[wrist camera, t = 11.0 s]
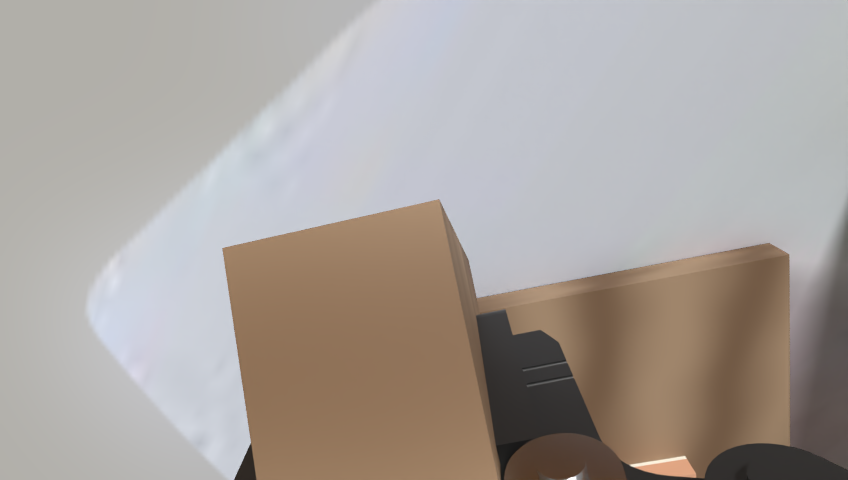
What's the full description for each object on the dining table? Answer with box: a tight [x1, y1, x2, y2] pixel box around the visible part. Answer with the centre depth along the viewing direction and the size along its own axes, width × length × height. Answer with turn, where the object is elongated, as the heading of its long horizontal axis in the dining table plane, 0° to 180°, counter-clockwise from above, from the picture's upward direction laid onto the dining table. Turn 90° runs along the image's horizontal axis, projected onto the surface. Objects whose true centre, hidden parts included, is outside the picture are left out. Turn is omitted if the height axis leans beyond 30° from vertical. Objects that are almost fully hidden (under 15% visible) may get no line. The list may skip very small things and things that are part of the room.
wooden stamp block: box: [222, 200, 501, 480], centre depth 9 cm, size 6×10×7 cm, turn 102°
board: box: [477, 243, 790, 478], centre depth 28 cm, size 18×18×2 cm
